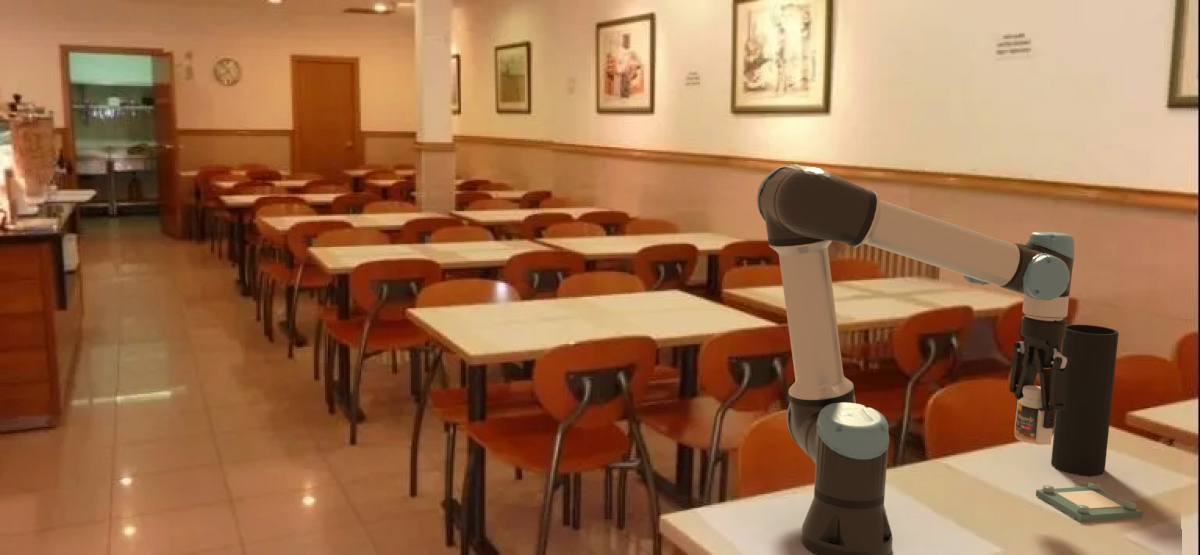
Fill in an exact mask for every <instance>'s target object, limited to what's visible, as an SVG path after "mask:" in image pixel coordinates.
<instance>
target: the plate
mask: <svg viewBox="0 0 1200 555" xmlns="http://www.w3.org/2000/svg"><path fill="white" fill-rule="evenodd" d="M1035 496H1036V497H1038V498H1039V499H1041V500H1043V501H1045V502H1046V503H1047V504H1049V505H1051V506H1052V507H1055V508H1056V509H1058V510H1059V511H1061V512H1063V513H1064V514H1066V515H1068V516H1070V517H1071V518H1073V519H1074V520H1076V521H1078V522H1080V523H1084V522H1085V523H1086V522H1098V521H1099V522H1100V521H1111V520H1114V521H1115V520H1124V519H1125V520H1127V519H1139V518H1141V519H1142V518H1143V513H1144V511H1143V510H1141V509H1139V508H1138V507H1137V503H1136V502H1132V501H1125V500H1122V499H1120V498H1118V497H1117V496H1114V495H1113V494H1111V493H1109V492H1108V491H1106V490H1103V489H1102V488H1100V484H1099V483H1098V482H1097V483H1096V482H1088V484H1087V486H1076V487H1075V486H1074V487H1058V488H1055V487H1054V486H1052V485H1049V484H1048V485H1046V484H1045V485H1042V489H1036V491H1035Z"/></svg>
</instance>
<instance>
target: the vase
mask: <svg viewBox="0 0 1200 555" xmlns="http://www.w3.org/2000/svg"><path fill="white" fill-rule="evenodd" d="M1118 342H1119V331H1118V330H1116V329H1114V328H1110V327H1106V326H1105V327H1104V326H1100V325H1094V324H1093V325H1092V324H1069V325H1068V324H1067V325H1066V335H1065V339H1063V340H1061V349H1060V354H1061V355H1063V356H1064V357H1070V359H1071V362H1070V365H1069V368H1068V375H1067V390H1066V404H1065V410H1058V411H1056V413H1055V422H1054V427H1053V429H1054V430H1053V436H1052V438H1053V439H1052V449H1051V450H1052V451H1051V460H1050V464H1051V465H1052V467H1053V466H1054V467H1053V468H1055V469H1056V470H1059V471H1060V472H1064V473H1067V474H1071V475H1076V476H1083V477H1084V476H1085V477H1093V476H1094V477H1096V476H1099V475H1103V474H1104V473H1105V472H1106V471H1105V470H1106V461H1107V451H1108V443H1109V442H1108V441H1109V433H1110V424H1111V423H1110V421H1111V412H1112V403H1113V402H1112V401H1113V393H1114V392H1113V391H1114V380H1115V373H1116V363H1117V362H1116V361H1117V354H1118V344H1119V343H1118Z"/></svg>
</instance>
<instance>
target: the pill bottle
mask: <svg viewBox="0 0 1200 555" xmlns="http://www.w3.org/2000/svg"><path fill="white" fill-rule="evenodd" d="M1022 393H1023V395H1024V396H1023V398H1021V399H1020V400H1019V403H1018V412H1017V420H1016V428H1015V427H1014V430H1015V433H1014V437H1015V438H1016V440H1018V441H1020V442H1023V443H1026V444H1034V445H1036V444H1035V441H1036V432H1037V422H1038V412H1039V408H1042V398H1041V387H1040V386H1038V385H1033V386H1031V385H1029V386H1024V387H1023V392H1022Z"/></svg>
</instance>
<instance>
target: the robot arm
mask: <svg viewBox="0 0 1200 555" xmlns="http://www.w3.org/2000/svg"><path fill="white" fill-rule="evenodd" d="M756 193H757V194H756V203H757V208H758V211H759V214H760V215H761V218H762V219H763V220H764V221H765V227H766V234H767V241H768V247H769V248H771V249H772V250H773V251H775V252H776V253H777V254H778V258H779V264H780V265H779V266H780V267H779V268H780V273H781V283H782V288H783V294H784V302H785V310H786V318H787V326H788V327H787V328H788V335H789V340H790V348H791V355H792V363H793V371H794V379H795V381H794V382H793V384H792V385H791V386H790V387H789V389H788V397H789V398H788V399H789V404H788V408H787V410H786V411H787V412H786V423H787V424H786V425H787V428H788V431H789V434H790V436H791V438H792V440H793V441H794V443H795V444H796V445H797V446H798V447H799V448H800V449H801V450H803V451H804V453H805V454H806V455H807V456H808V457H809V459H811V460H812V461H813V463H814V464H815V469H814V470H815V471H814V472H815V473H814V489H813V490H814V491H813V499H812V500H811V501H812V502H811V503H810V507H809V509H808V511H807V514H806V516H805V518H804V521H803V523H802V526H801V536H800V537H801V542H802V544H803V545H804V547H805V548H807V549H808V550H809V551H810V552H813V553H814V554H815V555H891V553H892V551H893V534H892V529H891V526H890V522H889V518H888V515H887V511H886V508H885V493H886V481H887V467H888V466H887V465H888V455H889V454H888V450H889V445H890V434H889V423H888V421H887V418H886V417H885V416H884V415H883V414H882V413H881V412H880V411H878V410H876V409H874V408H872V407H866V405H864V404H861V403H856V395H855V389H854V388H855V387H854V383H853V382H852V381H851V380H850V379H848V378H847V377H845V375H844V369H843V361H842V354H841V347H840V346H841V345H840V336H839V330H838V320H837V314H836V313H837V312H836V304H835V295H834V290H833V289H834V288H833V280H832V272H831V266H830V257H829V249H828V248H829V246H830V245H831V244H832V242H835V243H841V244H843V245H844V244H845V245H846V246H847V245H848V246H850V247H853V248H858V247H860V246H861V245H863V244H864V245H867V246H871V247H874V248H876V249H881V250H884V251H887V252H890V253H893V254H896V255H899V256H902V257H905V258H908V259H912V260H915V261H917V262H918V261H919V262H922V263H925V264H927V265H931V266H934V267H937V268H940V269H943V270H946V271H949V272H952V273H956V274H959V275H962V276H963V279H964V280H965V281H967V283H970V284H975V285H976V284H977V285H981V286H984V285H994V286H996V287H997V286H998V287H1000V288H1002V289H1005V290H1008V291H1010V292H1011V291H1012V292H1015V293H1018V294H1021V295H1023V300H1022V301H1023V302H1022V313H1023V314H1024V315H1023V316H1022V317H1021V326H1020V335H1021V336H1022V337H1024V340H1023V341H1013V343H1012V350H1013V356H1012V357H1013V358H1012V366H1011V372H1010V373H1011V374H1010V381H1009V389H1008V390H1009V393H1012V394H1014V398H1015V399H1016V401H1015V421H1014V431H1013V433H1014V434H1015V428H1016V420H1017V412H1018V403H1019V400H1020V399H1021V398H1023V396H1024V395H1023V393H1022V392H1023V387H1024V386H1029V385H1031V386H1035V381H1036V378H1037V375H1038V376H1039V385H1040V387H1041V398H1042V408H1039V412H1038V422H1037V432H1036V441H1035V444H1034V445H1037V446H1039V445H1040V446H1041V445H1043V446H1045V445H1052V440H1053V439H1052V438H1053V431H1054V430H1053V429H1054V426H1055V415H1056V411H1058V410H1065V404H1066V390H1067V375H1068V368H1069V365H1070V362H1071V359H1070V357H1064V356H1063V355H1061V349H1060V343H1061V342H1062V340H1063V339H1065V335H1066V325H1068V324H1067V323H1068V322H1067V320H1066V319H1065V318H1066V317H1068V313H1069V312H1068V310H1069V302H1070V300H1069V299H1070V291H1071V286H1072V285H1071V284H1072V276H1073V268H1074V267H1073V266H1074V261H1075V239H1074V237H1073V236H1072V235H1071V234H1068V233H1064V232H1058V231H1057V232H1055V231H1034V232H1032V233H1031V234H1030V235H1029V239H1028V242H1022V243H1013V242H1010V241H1007V240H1003V239H1000V238H998V237H995V236H992V235H988V234H985V233H982V232H979V231H976V230H974V229H969V228H967V227H965V226H961V225H959V224H955V223H952V222H949V221H946V220H942V219H939V218H937V217H933V216H931V215H928V214H924V213H921V212H919V211H916V210H912V209H910V208H906V207H903V206H900V205H897V204H895V203H894V204H893V203H891V202H888V201H885V200H882V199H880V198H879V195H878V193H877V192H876V191H874V190H871V189H868V188H865V187H863V186H860V185H857V184H855V183H853V182H850V181H849V180H846V179H844V178H842V177H841V176H838V175H837V174H835V173H832V172H830V171H828V170H826V169H824V168H823V169H822V168H820V167H814V166H813V167H812V166H807V165H804V164H800V163H796V164H788V165H783V166H779V167H777V168H775V169H773V170H772V171H770V172H769V173H768V174H767V175H766V176H764V178H763V179H762V181H761V183H760V185H759V187H758V189H757V192H756Z"/></svg>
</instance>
